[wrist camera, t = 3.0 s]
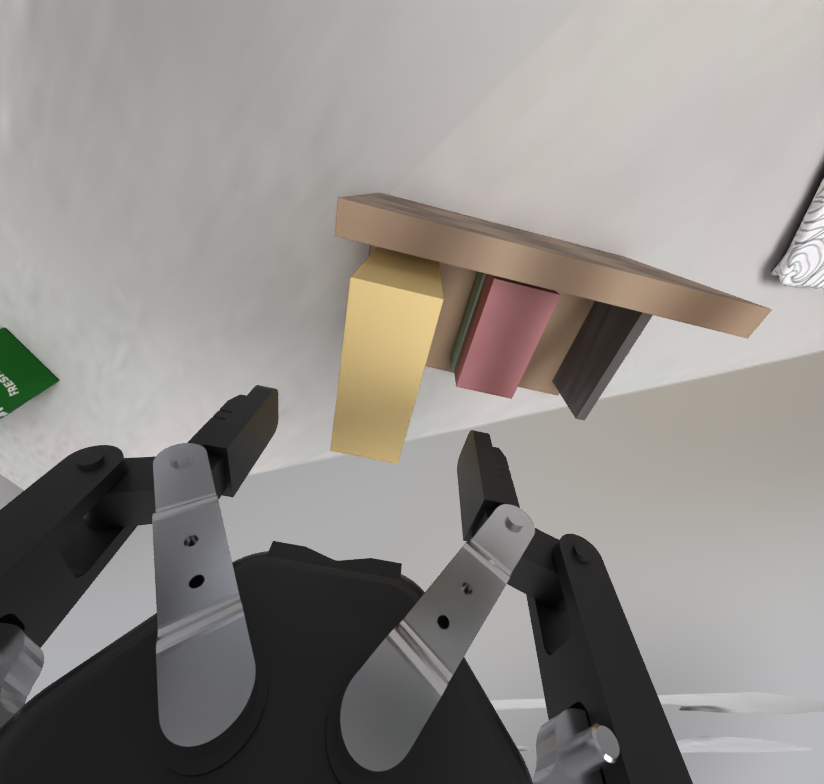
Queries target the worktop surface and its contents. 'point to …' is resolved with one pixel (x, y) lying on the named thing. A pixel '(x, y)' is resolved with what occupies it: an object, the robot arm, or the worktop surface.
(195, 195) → the worktop surface
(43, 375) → the milk carton
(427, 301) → the ochre book
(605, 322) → the shelf
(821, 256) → the cookie jar
